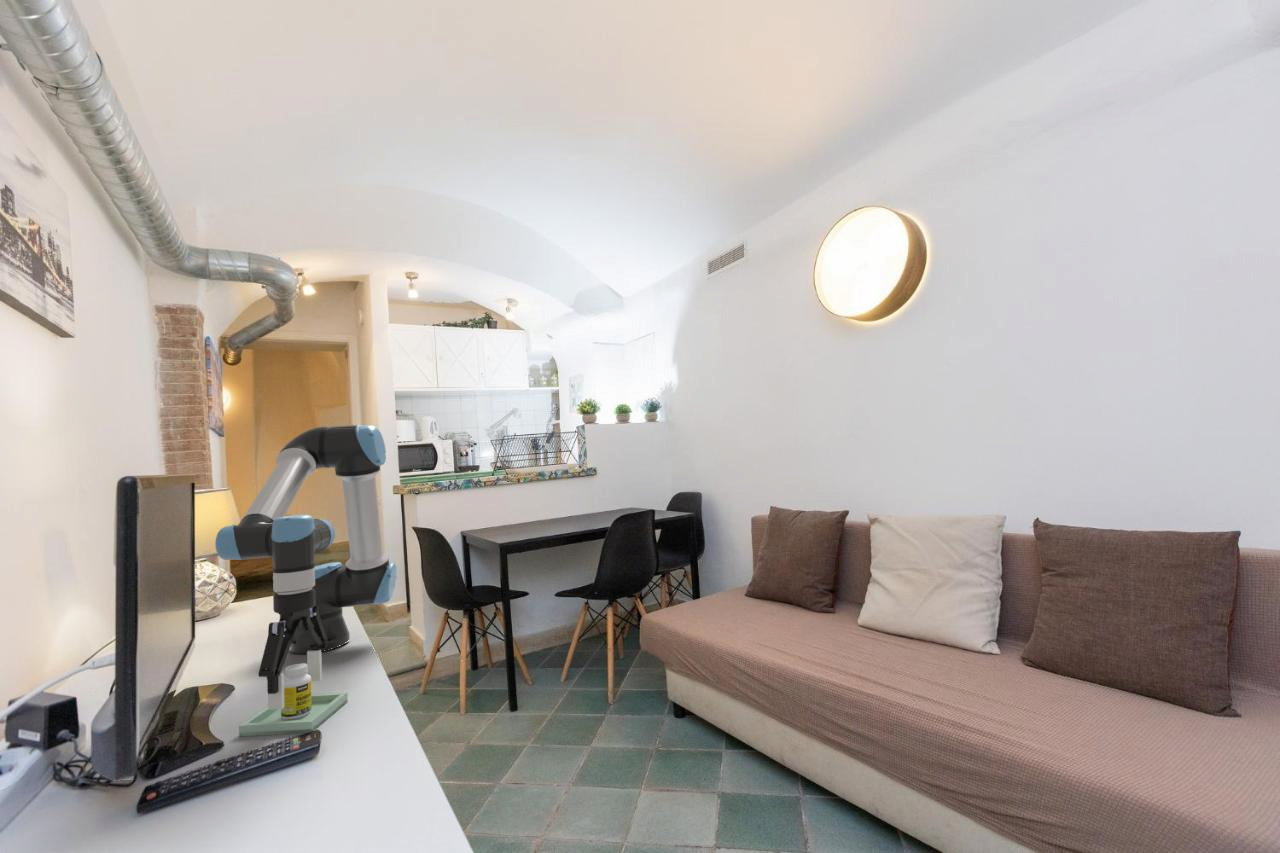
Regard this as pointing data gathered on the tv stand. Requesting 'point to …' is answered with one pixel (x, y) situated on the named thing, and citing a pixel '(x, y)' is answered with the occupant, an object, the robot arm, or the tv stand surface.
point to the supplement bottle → (296, 692)
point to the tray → (274, 724)
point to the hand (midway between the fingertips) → (296, 694)
